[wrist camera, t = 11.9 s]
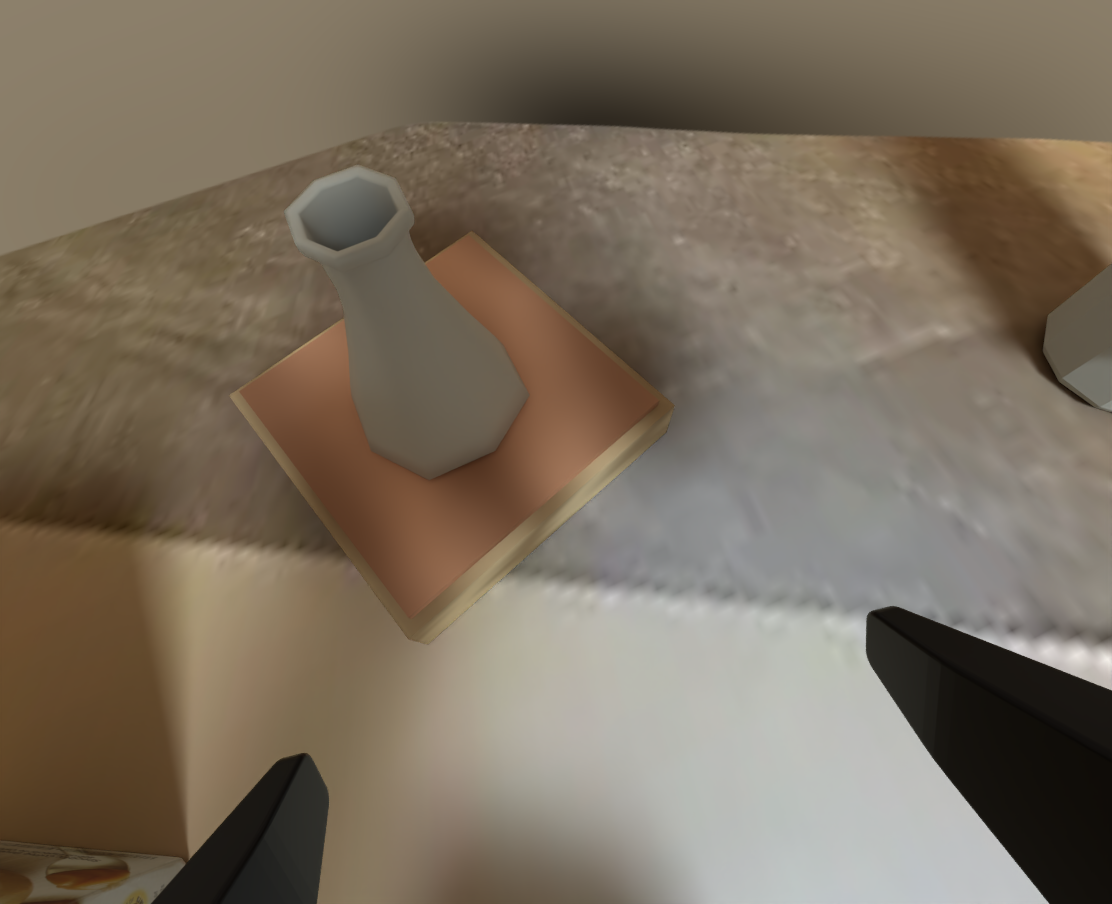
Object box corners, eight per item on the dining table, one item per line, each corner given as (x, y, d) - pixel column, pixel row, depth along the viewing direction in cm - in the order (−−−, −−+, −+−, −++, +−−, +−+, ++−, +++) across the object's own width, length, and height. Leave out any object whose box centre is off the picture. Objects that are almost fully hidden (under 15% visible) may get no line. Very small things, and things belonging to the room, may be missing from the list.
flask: (426, 513, 21) (304, 378, 12) (325, 399, 23) (157, 213, 14) (560, 398, 23) (542, 203, 14) (453, 303, 25) (377, 82, 16)
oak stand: (427, 644, 22) (405, 638, 19) (261, 421, 27) (223, 391, 24) (666, 432, 25) (676, 400, 22) (480, 267, 30) (470, 224, 27)
